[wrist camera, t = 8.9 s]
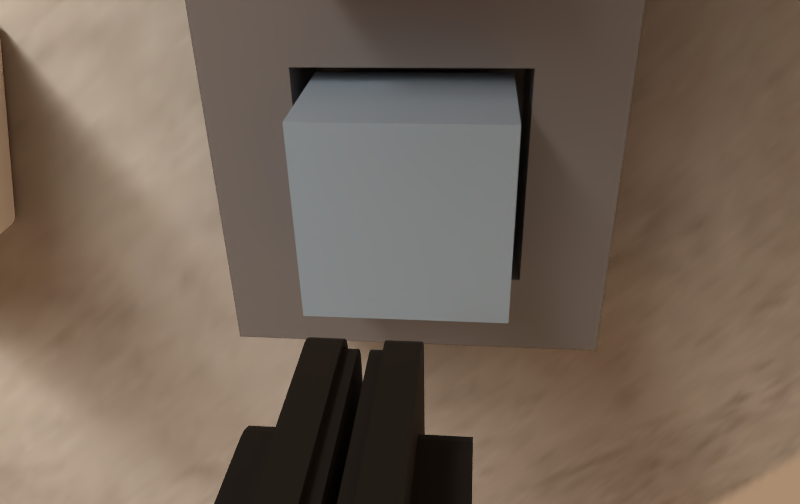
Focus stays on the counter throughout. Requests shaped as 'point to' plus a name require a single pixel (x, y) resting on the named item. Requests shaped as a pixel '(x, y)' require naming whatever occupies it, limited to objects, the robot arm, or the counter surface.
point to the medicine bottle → (5, 162)
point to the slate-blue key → (405, 194)
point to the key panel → (426, 52)
